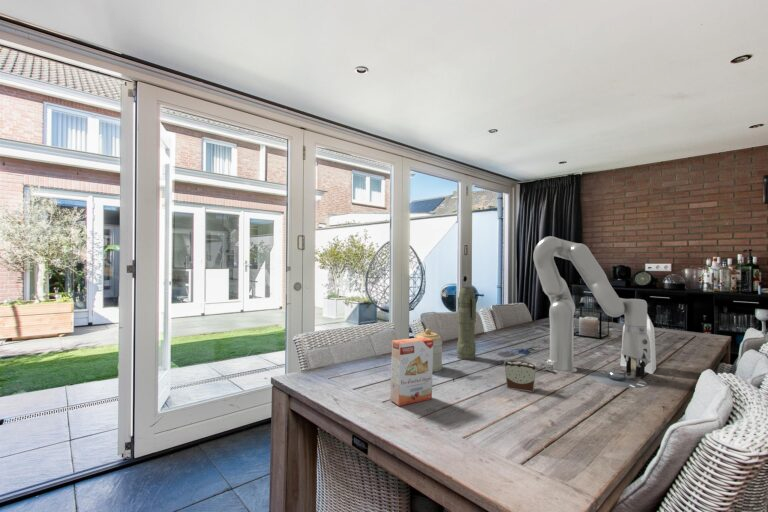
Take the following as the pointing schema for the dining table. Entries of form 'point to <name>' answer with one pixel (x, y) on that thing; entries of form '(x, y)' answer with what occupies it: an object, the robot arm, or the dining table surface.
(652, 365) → the milk
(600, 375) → the dial board
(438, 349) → the jar
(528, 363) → the food container
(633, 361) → the lever
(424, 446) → the dining table surface
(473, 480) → the dining table surface
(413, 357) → the cracker box
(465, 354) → the thermos
